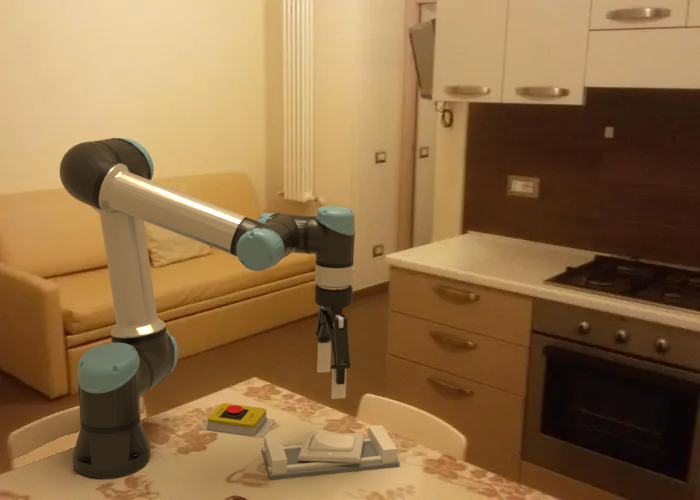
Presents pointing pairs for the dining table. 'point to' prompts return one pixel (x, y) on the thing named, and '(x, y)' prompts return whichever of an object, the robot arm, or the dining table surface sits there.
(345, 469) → the rail board
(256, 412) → the emergency button
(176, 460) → the dining table surface
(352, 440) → the light switch
